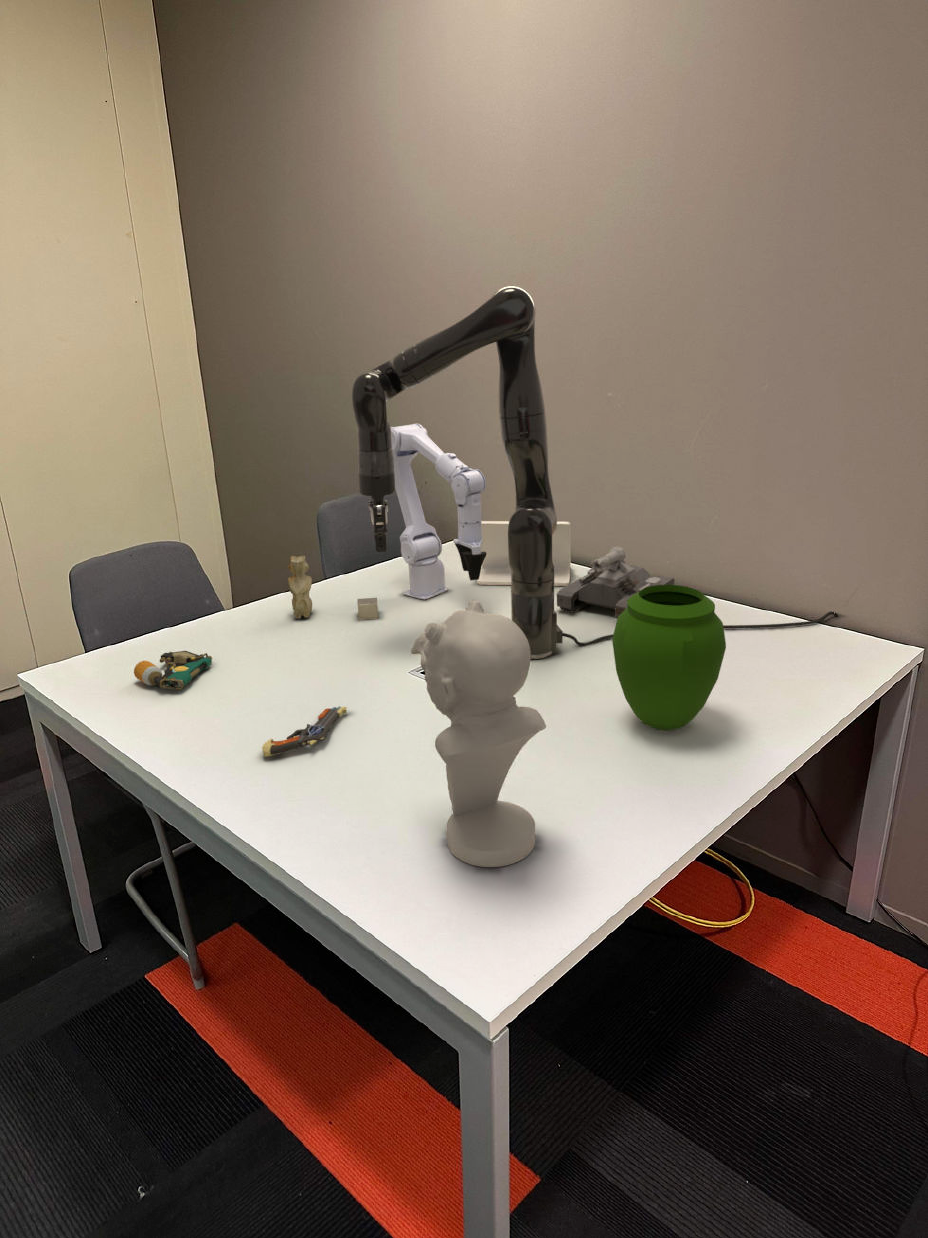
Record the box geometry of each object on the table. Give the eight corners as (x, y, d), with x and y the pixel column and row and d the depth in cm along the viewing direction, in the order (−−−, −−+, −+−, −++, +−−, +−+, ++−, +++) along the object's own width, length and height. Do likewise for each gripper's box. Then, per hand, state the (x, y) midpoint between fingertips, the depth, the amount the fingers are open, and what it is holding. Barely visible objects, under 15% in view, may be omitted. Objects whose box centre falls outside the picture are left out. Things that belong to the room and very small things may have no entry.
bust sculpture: (481, 772, 140) (476, 569, 128) (565, 848, 120) (569, 617, 108) (392, 800, 134) (378, 588, 121) (465, 886, 114) (457, 642, 101)
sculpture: (316, 609, 217) (311, 553, 212) (313, 619, 210) (307, 561, 205) (293, 610, 217) (287, 554, 211) (289, 620, 210) (283, 562, 205)
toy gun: (257, 746, 146) (311, 744, 144) (298, 704, 164) (347, 701, 161) (260, 761, 146) (314, 759, 144) (300, 717, 164) (349, 715, 162)
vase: (732, 711, 158) (744, 587, 150) (698, 758, 143) (709, 622, 134) (633, 689, 168) (638, 571, 159) (591, 730, 153) (595, 602, 144)
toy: (603, 584, 229) (605, 530, 224) (673, 597, 218) (677, 540, 213) (555, 612, 210) (556, 553, 205) (630, 627, 199) (633, 566, 194)
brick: (358, 614, 214) (357, 598, 212) (377, 612, 214) (376, 597, 213) (358, 620, 210) (357, 604, 208) (378, 618, 210) (377, 603, 209)
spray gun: (177, 659, 191) (231, 671, 185) (120, 684, 176) (176, 698, 171) (176, 641, 190) (230, 653, 184) (118, 665, 175) (174, 678, 169)
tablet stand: (569, 585, 229) (570, 524, 223) (476, 584, 232) (475, 523, 226) (570, 566, 246) (571, 508, 240) (484, 564, 249) (483, 507, 243)
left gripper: (447, 515, 211) (449, 567, 216) (459, 529, 198) (461, 585, 203) (475, 513, 213) (476, 565, 217) (489, 527, 199) (490, 582, 204)
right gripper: (357, 465, 184) (362, 538, 190) (358, 478, 171) (363, 556, 176) (392, 463, 185) (396, 536, 190) (396, 476, 171) (399, 554, 177)
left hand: (471, 574), depth 210 cm, fingers open, 7 cm apart
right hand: (380, 545), depth 183 cm, fingers open, 8 cm apart
